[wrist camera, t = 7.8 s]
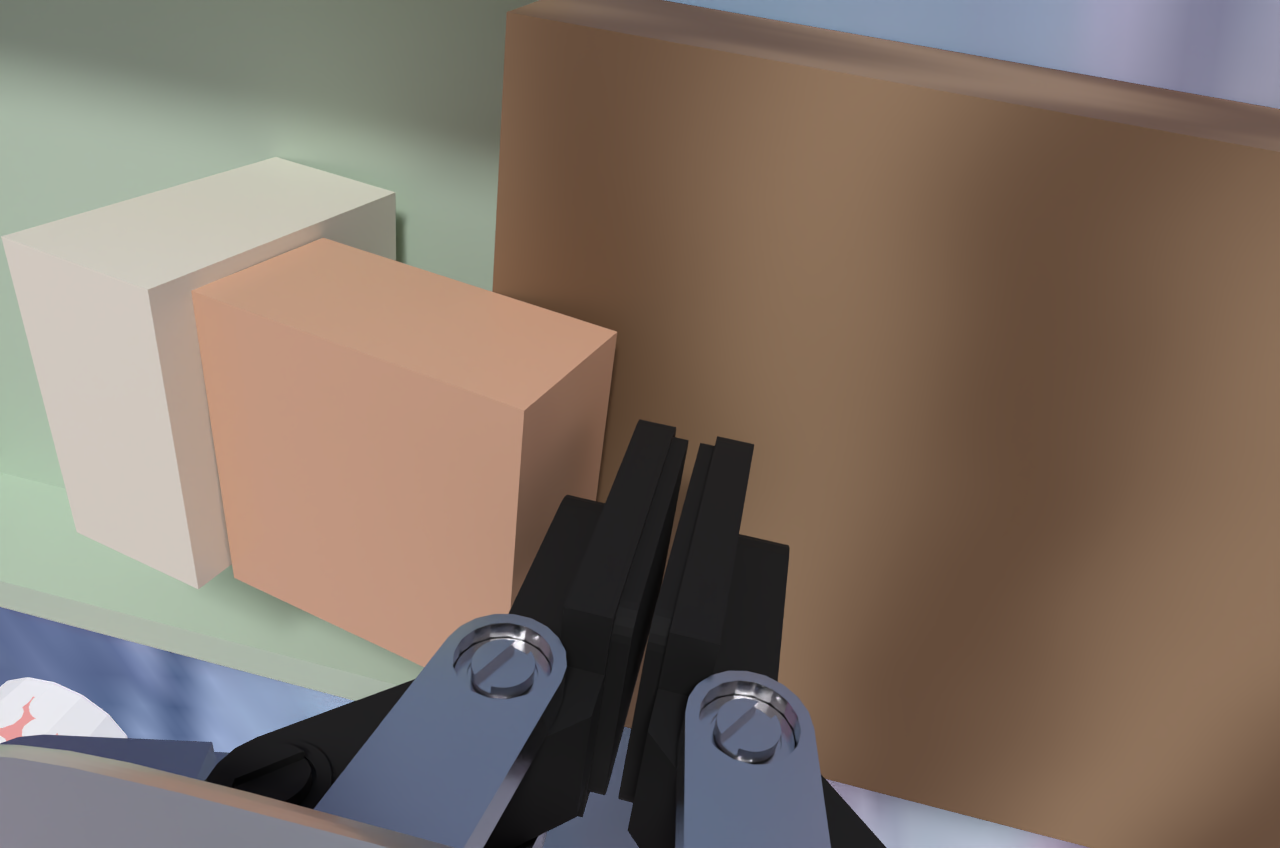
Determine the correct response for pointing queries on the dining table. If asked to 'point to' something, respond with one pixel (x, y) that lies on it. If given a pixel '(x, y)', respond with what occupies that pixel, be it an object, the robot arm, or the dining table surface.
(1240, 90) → the dining table surface
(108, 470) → the tile cream
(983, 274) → the walnut board
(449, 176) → the tray
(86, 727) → the beverage cup
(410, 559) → the tile terracotta
